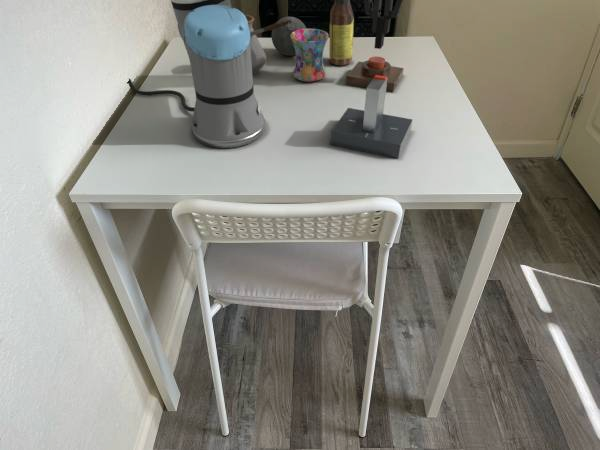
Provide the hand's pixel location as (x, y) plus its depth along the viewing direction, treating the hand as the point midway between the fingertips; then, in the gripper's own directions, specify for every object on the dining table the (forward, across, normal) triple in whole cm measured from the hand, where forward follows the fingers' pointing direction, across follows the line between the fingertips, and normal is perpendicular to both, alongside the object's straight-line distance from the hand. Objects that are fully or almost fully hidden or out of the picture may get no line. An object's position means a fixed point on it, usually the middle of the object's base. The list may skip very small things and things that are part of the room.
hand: (378, 46), depth 110 cm
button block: (+9, 0, 0) cm, 9 cm away
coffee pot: (+9, +29, +7) cm, 31 cm away
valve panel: (+8, -7, +28) cm, 30 cm away
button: (+5, 0, 0) cm, 5 cm away
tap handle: (+5, -7, +28) cm, 29 cm away
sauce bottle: (+9, +12, -8) cm, 17 cm away
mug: (+9, +16, +3) cm, 19 cm away
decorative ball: (+9, +27, -8) cm, 30 cm away
